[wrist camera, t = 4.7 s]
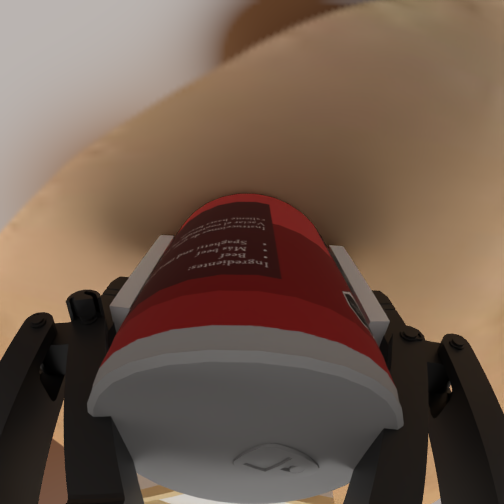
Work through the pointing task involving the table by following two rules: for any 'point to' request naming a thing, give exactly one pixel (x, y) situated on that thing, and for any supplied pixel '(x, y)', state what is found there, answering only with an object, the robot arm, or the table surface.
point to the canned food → (246, 362)
